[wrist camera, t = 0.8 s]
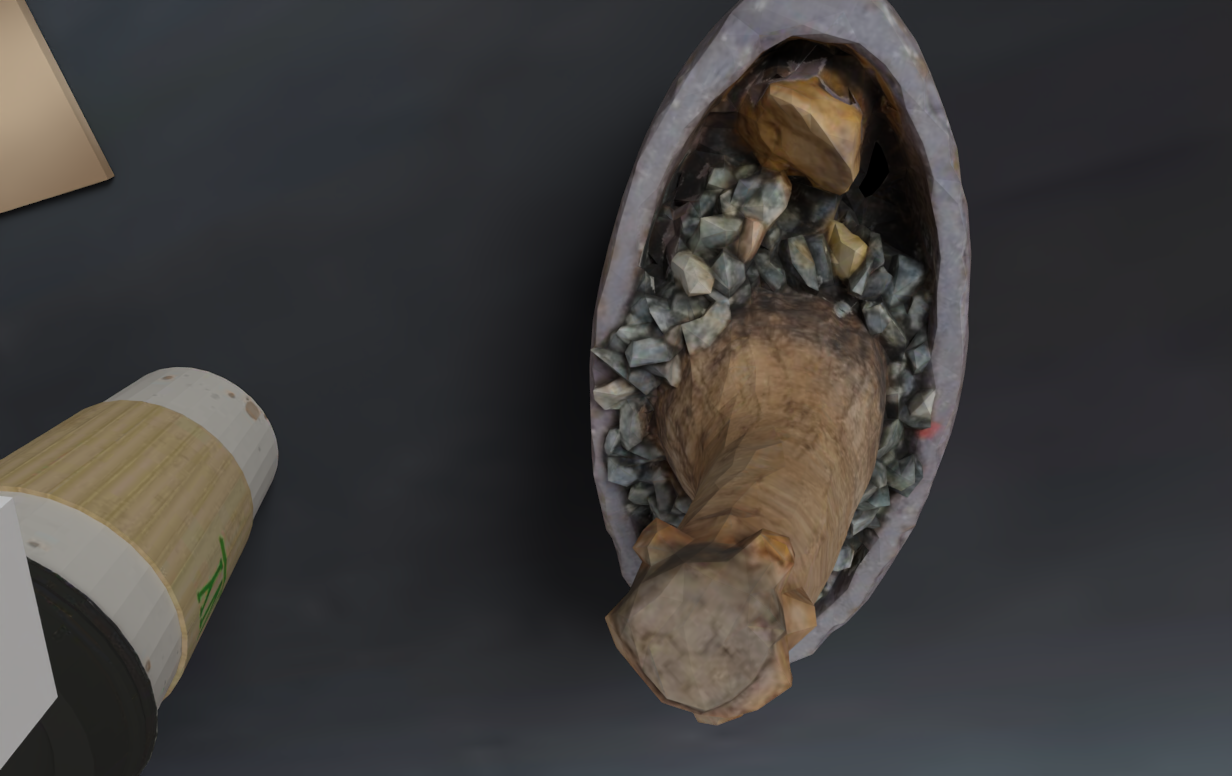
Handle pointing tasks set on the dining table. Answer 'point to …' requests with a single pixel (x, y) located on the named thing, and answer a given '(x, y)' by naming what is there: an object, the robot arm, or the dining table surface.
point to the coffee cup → (132, 555)
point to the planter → (776, 344)
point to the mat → (39, 119)
